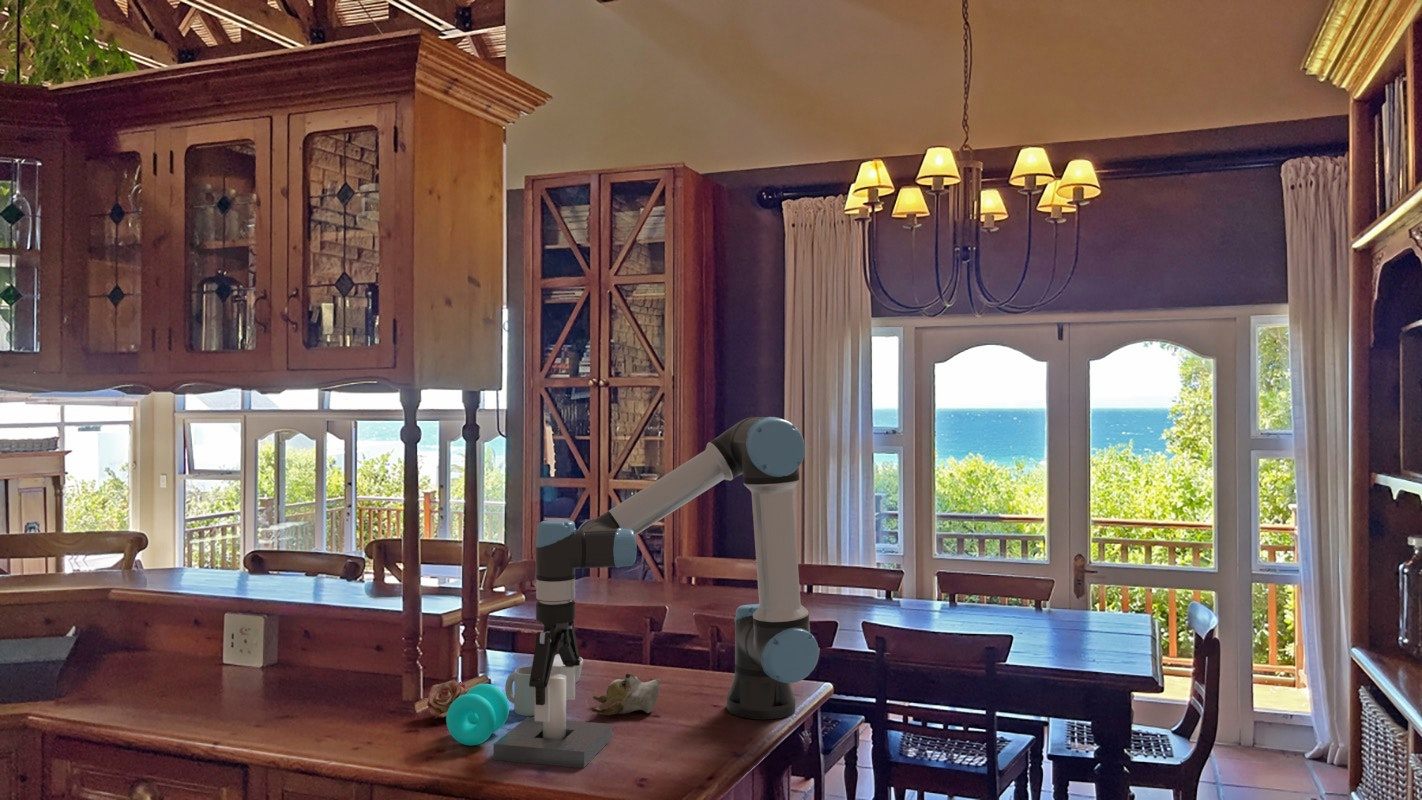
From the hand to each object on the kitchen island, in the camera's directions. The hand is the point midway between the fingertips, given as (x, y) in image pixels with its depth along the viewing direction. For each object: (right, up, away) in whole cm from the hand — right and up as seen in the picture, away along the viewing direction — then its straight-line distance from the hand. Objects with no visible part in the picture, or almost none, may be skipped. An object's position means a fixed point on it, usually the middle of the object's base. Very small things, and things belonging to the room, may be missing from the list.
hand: (555, 709), depth 188 cm
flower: (-26, -8, +18) cm, 32 cm away
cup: (-10, -8, +24) cm, 27 cm away
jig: (0, -8, 0) cm, 8 cm away
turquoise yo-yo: (-16, -8, +6) cm, 19 cm away
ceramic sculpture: (+12, -8, +23) cm, 27 cm away
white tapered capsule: (0, -8, 0) cm, 8 cm away
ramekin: (-6, -8, +46) cm, 47 cm away
